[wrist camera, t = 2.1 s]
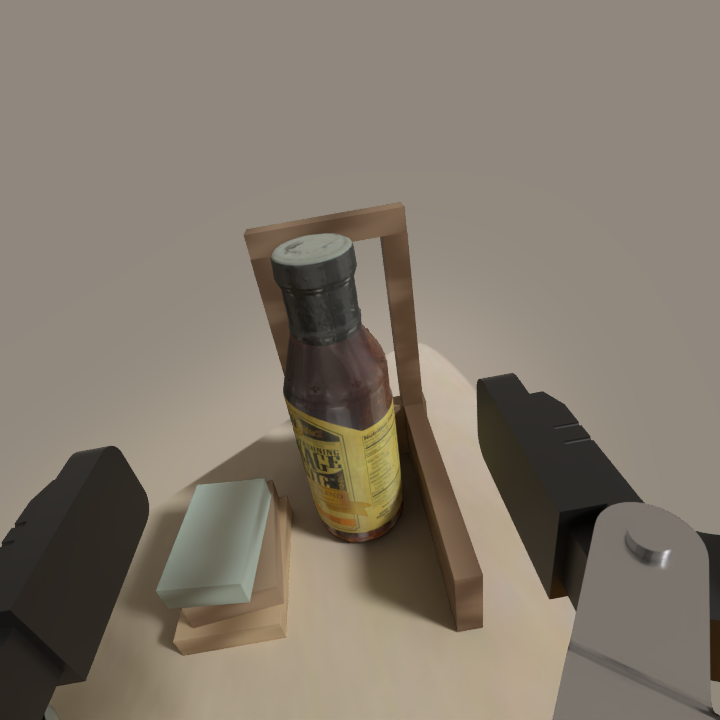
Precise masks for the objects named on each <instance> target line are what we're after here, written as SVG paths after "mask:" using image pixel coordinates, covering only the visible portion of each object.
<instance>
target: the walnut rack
mask: <svg viewBox="0 0 720 720" xmlns="http://www.w3.org/2000/svg"><path fill="white" fill-rule="evenodd" d="M406 229H407V228H406V218H405V207H404V205H403V204H402V203H401V202H398V203H392V204H387V205H381V206H376V207H370V208H365V209H359V210H353V211H347V212H342V213H336V214H330V215H325V216H319V217H314V218H309V219H302V220H297V221H291V222H285V223H280V224H275V225H269V226H263V227H258V228H252V229H247V230H246V231H245V233H244V238H245V241H246V245H247V248H248V251H249V255H250V258H251V263H252V267H253V270H254V274H255V277H256V281H257V284H258V287H259V291H260V294H261V298H262V301H263V304H264V308H265V311H266V315H267V318H268V321H269V325H270V328H271V332H272V335H273V339H274V342H275V345H276V349H277V352H278V355H279V359H280V362H281V365H282V369H283V372H284V376H285V369H286V360H287V351H288V343H289V335H290V330H289V327H288V323H289V320H288V316H287V312H286V307H285V304H284V300H283V295H282V291H281V289H280V287H279V286H278V285H277V283H276V282H275V280H274V276H273V270H272V265H271V255H272V253H273V251H274V250H275V249H276V248H277V247H278V246H279V245H281V244H284V243H285V242H287V241H290V240H292V239H295V238H298V237H303V236H307V235H313V234H324V233H327V234H330V233H333V234H340V235H342V236H345V237H348V238H349V239H351V241H352V242H353V241H359V240H365V239H370V238H376V237H380V239H381V247H382V255H383V263H384V271H385V279H386V287H387V295H388V303H389V311H390V318H391V327H392V335H393V343H394V351H395V359H396V367H397V375H398V383H399V391H400V396H396V397H393V405H394V414H395V423H396V433H397V442H398V451H399V455H400V454H406V453H409V454H410V456H411V460H412V464H413V468H414V471H415V475H416V479H417V482H418V486H419V490H420V494H421V497H422V501H423V505H424V509H425V512H426V516H427V520H428V523H429V527H430V531H431V535H432V538H433V542H434V546H435V549H436V553H437V557H438V561H439V564H440V568H441V572H442V575H443V579H444V583H445V587H446V590H447V594H448V598H449V602H450V605H451V609H452V613H453V616H454V620H455V624H456V628H457V631H458V632H460V631H466V630H471V629H477V628H482V627H483V574H482V571H481V568H480V566H479V563H478V560H477V557H476V554H475V551H474V549H473V546H472V543H471V540H470V537H469V534H468V532H467V529H466V526H465V523H464V520H463V517H462V514H461V512H460V509H459V506H458V503H457V500H456V497H455V495H454V492H453V489H452V486H451V483H450V480H449V477H448V475H447V472H446V469H445V466H444V463H443V460H442V458H441V455H440V452H439V449H438V446H437V443H436V441H435V438H434V435H433V432H432V429H431V426H430V423H429V421H428V418H427V409H426V400H425V398H424V395H423V392H422V387H421V376H420V365H419V354H418V343H417V333H416V322H415V311H414V300H413V289H412V278H411V269H410V268H411V267H410V257H409V246H408V234H407V230H406Z"/></svg>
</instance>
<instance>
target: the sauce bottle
mask: <svg viewBox="0 0 720 720" xmlns="http://www.w3.org/2000/svg"><path fill="white" fill-rule="evenodd" d="M271 265H272V270H273V276H274V280H275V282H276V283H277V285H278V286H279V287H280V289H281V291H282V295H283V300H284V304H285V307H286V312H287V316H288V320H289V323H288V327H289V330H290V335H289V343H288V351H287V360H286V369H285V378H284V387H283V393H284V397H285V401H286V404H287V408H288V411H289V415H290V418H291V422H292V425H293V430H294V433H295V437H296V441H297V445H298V448H299V451H300V453H301V458H302V462H303V465H304V468H305V471H306V475H307V478H308V482H309V485H310V488H311V492H312V495H313V499H314V502H315V506H316V509H317V511H318V514H319V515H320V517H321V518H322V522H323V523H324V525H325V527H326V528H327V529H328V530H329V531H330V532H331V533H333V534H334V535H335V536H337V537H339V538H340V539H344V540H346V541H349V542H352V543H361V542H364V541H366V540H372V539H376V538H379V537H380V536H382V535H384V534H385V533H387V532H388V531H389V530H390V529H391V528H392V527H393V525H394V524H395V523H396V521H397V520H398V517H399V515H400V514H401V511H402V507H403V501H402V496H403V489H402V480H401V470H400V461H399V451H398V442H397V433H396V423H395V414H394V405H393V395H392V391H391V389H390V387H389V375H388V366H387V360H386V357H385V353H384V352H383V349H382V347H381V346H380V344H379V343H378V341H377V340H376V339H375V338H374V336H373V335H372V334H371V333H370V332H369V330H368V329H367V328H365V327H364V326H363V325H362V324H361V309H360V308H359V307H358V301H357V294H356V293H357V292H356V286H355V280H354V273H355V270H356V266H357V263H356V257H355V252H354V246H353V243H352V241H351V239H349V238H348V237H345V236H342V235H340V234H333V233H330V234H327V233H324V234H313V235H307V236H303V237H298V238H295V239H292V240H290V241H287V242H285V243H284V244H281V245H279V246H278V247H277V248H276V249H275V250H274V251H273V253H272V255H271Z"/></svg>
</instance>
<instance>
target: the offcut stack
mask: <svg viewBox="0 0 720 720" xmlns="http://www.w3.org/2000/svg"><path fill="white" fill-rule="evenodd" d="M291 526H292V508H291V505H290V502H289V500H288V497H287V496H285V497H279V496H278V494H277V491H276V488H275V485H274V483H273V480H271V481H267V482H266V480H265V478H259V479H250V480H240V481H231V482H222V483H212V484H203V485H197V487H196V490H195V492H194V495H193V497H192V500H191V502H190V505H189V507H188V510H187V512H186V515H185V518H184V520H183V523H182V525H181V528H180V530H179V533H178V535H177V538H176V540H175V543H174V546H173V548H172V551H171V553H170V556H169V558H168V561H167V563H166V566H165V568H164V571H163V574H162V576H161V579H160V581H159V584H158V586H157V589H156V593H157V594H158V595H159V597H160V598H161V600H162V601H163V602H164V604H165V605H166V607H167V608H168V609H179V608H181V612H180V616H179V620H178V624H177V628H176V632H175V636H174V640H173V643H174V644H175V645H176V647H177V648H178V649H179V651H180V652H181V653H182V655H183V656H185V655H190V654H196V653H202V652H207V651H213V650H219V649H224V648H230V647H236V646H242V645H247V644H253V643H259V642H264V641H270V640H276V639H281V638H286V631H287V610H288V589H289V568H290V547H291Z"/></svg>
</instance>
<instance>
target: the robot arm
mask: <svg viewBox="0 0 720 720" xmlns="http://www.w3.org/2000/svg"><path fill="white" fill-rule="evenodd" d="M477 422H478V439H479V444H480V448H481V452H482V455H483V458H484V460H485V463H486V465H487V467H488V469H489V471H490V473H491V475H492V478H493V480H494V482H495V484H496V486H497V488H498V490H499V493H500V495H501V497H502V499H503V501H504V503H505V505H506V508H507V510H508V512H509V514H510V516H511V518H512V521H513V523H514V525H515V527H516V529H517V531H518V533H519V536H520V538H521V540H522V542H523V544H524V546H525V548H526V551H527V553H528V555H529V557H530V559H531V561H532V563H533V566H534V568H535V570H536V572H537V574H538V576H539V578H540V581H541V583H542V585H543V587H544V589H545V591H546V594H547V596H548V598H549V599H554V598H560V597H565V596H568V597H569V599H570V601H571V603H572V604H573V606H574V608H575V610H576V616H575V621H574V625H573V630H572V635H571V639H570V644H569V647H568V651H567V655H566V659H565V664H564V669H563V673H562V678H561V682H560V687H559V692H558V696H557V701H556V706H555V710H554V715H553V720H720V716H719V715H718V714H716V713H715V712H714V711H713V708H712V703H711V692H710V680H712V681H718V682H720V535H714V534H707V533H702V532H698V531H695V530H694V529H693V528H692V527H690V526H689V525H688V524H687V523H686V522H684V521H683V520H682V519H680V518H679V517H677V516H676V515H674V514H672V513H670V512H668V511H666V510H664V509H662V508H659V507H656V506H653V505H649V504H645V503H644V502H643V501H642V500H641V499H640V497H639V496H638V495H637V494H636V493H635V491H634V490H633V489H632V488H631V486H630V485H629V484H628V483H627V481H626V480H625V479H624V478H623V476H622V475H621V474H620V473H619V472H618V470H617V469H616V468H615V466H614V465H613V464H612V463H611V461H610V460H609V459H608V458H607V457H606V455H605V454H604V453H603V452H602V450H601V449H600V448H599V447H598V445H597V444H596V443H595V442H594V440H591V438H590V435H589V434H588V433H587V432H586V431H585V429H584V428H583V427H582V426H580V425H579V422H578V421H577V419H576V418H575V417H574V416H573V414H572V413H571V412H570V411H569V409H568V408H567V407H566V406H565V404H563V403H561V402H560V401H558V400H556V399H555V398H553V397H551V396H550V395H548V394H546V393H545V392H537V393H532V394H529V393H528V391H527V390H526V389H525V387H524V386H523V384H522V383H521V381H520V380H519V379H518V377H517V376H516V375H515V374H514V373H510V374H504V375H499V376H493V377H488V378H483V379H479V380H478V381H477ZM148 516H149V502H148V497H147V494H146V492H145V490H144V489H143V487H142V485H141V484H140V482H139V480H138V479H137V477H136V476H135V474H134V472H133V470H132V469H131V467H130V465H129V464H128V462H127V460H126V459H125V457H124V456H123V454H122V452H121V451H120V450H119V449H118V448H117V447H115V446H108V447H102V448H97V449H92V450H86V451H81V452H76V453H74V454H73V455H72V456H71V457H70V458H69V460H68V461H67V463H66V464H65V466H64V467H63V469H62V470H61V472H60V473H59V475H58V476H57V478H56V479H55V480H53V481H52V482H51V483H50V484H49V485H48V486H46V487H45V488H44V489H43V490H42V491H41V492H40V493H39V494H38V495H37V496H35V497H34V498H33V499H32V500H31V501H30V502H29V504H28V505H27V507H26V508H25V509H24V511H23V513H22V514H21V515H20V517H19V518H18V520H17V521H16V523H15V528H12V529H11V530H10V531H9V533H8V534H7V536H6V537H5V539H4V540H3V541H2V547H0V720H58V717H57V713H56V710H55V708H54V707H53V706H52V705H51V704H50V703H49V702H50V700H51V697H52V695H53V693H54V691H55V688H56V686H61V685H67V684H72V683H78V682H83V681H86V678H87V676H88V673H89V670H90V668H91V665H92V663H93V660H94V657H95V655H96V652H97V650H98V647H99V644H100V642H101V639H102V637H103V634H104V632H105V629H106V626H107V624H108V621H109V619H110V616H111V613H112V611H113V608H114V606H115V603H116V601H117V598H118V595H119V593H120V590H121V588H122V585H123V582H124V580H125V577H126V575H127V572H128V569H129V567H130V564H131V562H132V559H133V557H134V554H135V551H136V549H137V546H138V544H139V541H140V538H141V536H142V533H143V531H144V528H145V526H146V523H147V520H148Z"/></svg>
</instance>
